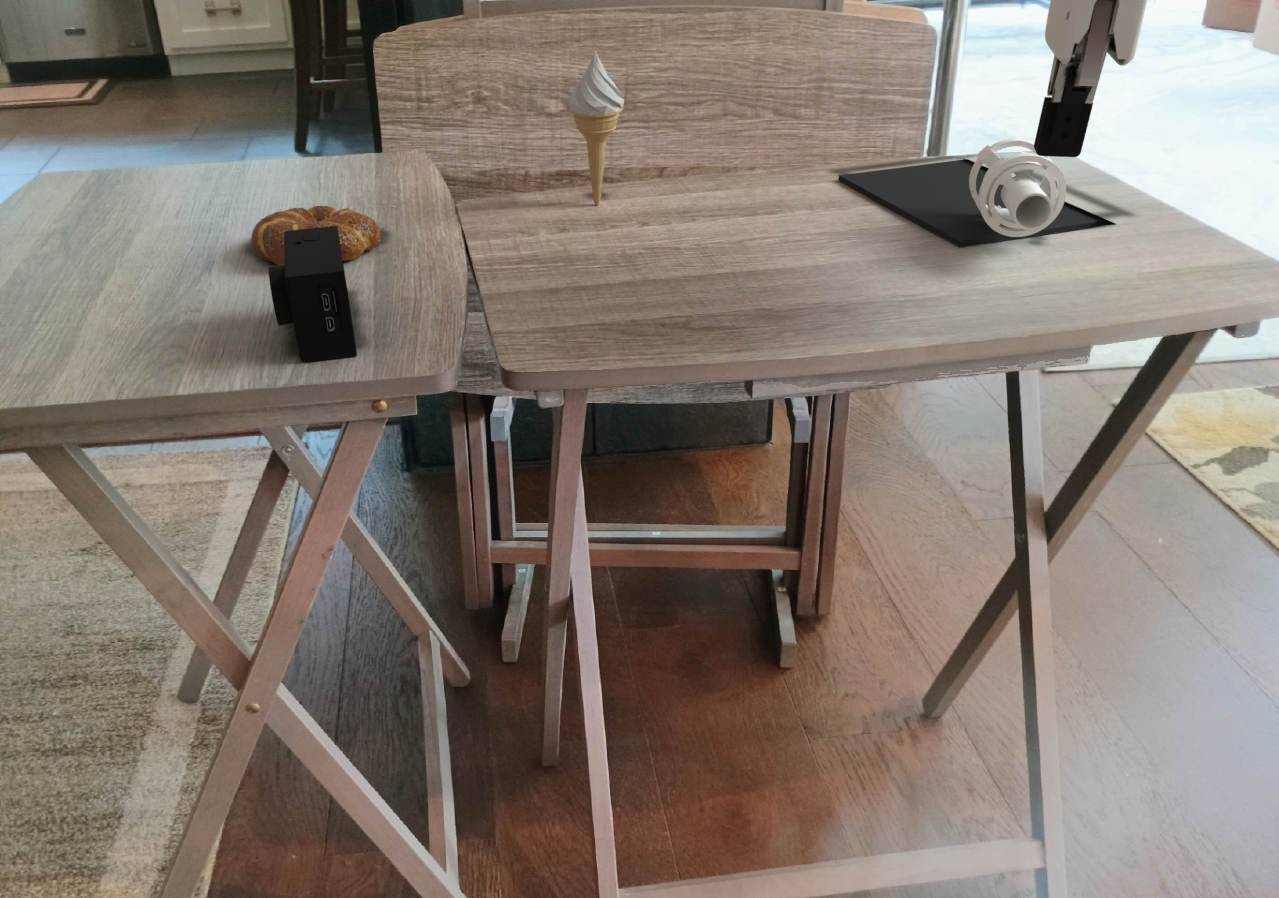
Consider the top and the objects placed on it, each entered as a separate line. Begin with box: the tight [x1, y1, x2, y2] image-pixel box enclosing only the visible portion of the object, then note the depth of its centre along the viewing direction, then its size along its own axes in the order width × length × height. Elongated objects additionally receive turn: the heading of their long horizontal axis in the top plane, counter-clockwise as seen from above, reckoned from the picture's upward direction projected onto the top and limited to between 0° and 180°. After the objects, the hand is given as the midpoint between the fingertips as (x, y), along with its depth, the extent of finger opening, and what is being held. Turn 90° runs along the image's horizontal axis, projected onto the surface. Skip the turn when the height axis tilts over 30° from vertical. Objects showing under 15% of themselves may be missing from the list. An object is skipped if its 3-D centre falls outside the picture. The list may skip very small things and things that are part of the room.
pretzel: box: [250, 205, 382, 266], centre depth 97 cm, size 12×11×4 cm
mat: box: [837, 158, 1117, 248], centre depth 105 cm, size 22×18×1 cm
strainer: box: [969, 138, 1067, 237], centre depth 93 cm, size 7×7×15 cm
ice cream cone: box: [567, 50, 625, 206], centre depth 103 cm, size 6×6×15 cm
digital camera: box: [268, 226, 358, 363], centre depth 81 cm, size 10×5×7 cm, turn 13°
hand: (1056, 152), depth 80 cm, fingers closed
